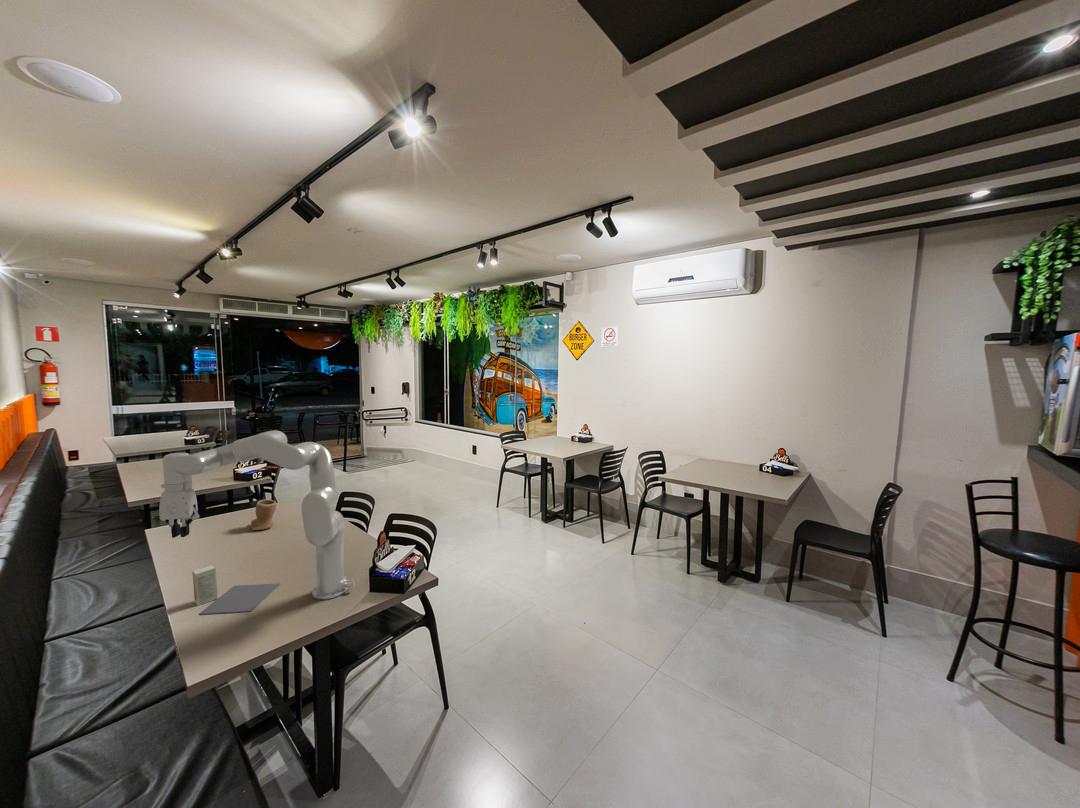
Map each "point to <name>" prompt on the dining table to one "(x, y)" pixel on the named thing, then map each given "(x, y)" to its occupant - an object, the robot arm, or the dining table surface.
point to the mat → (240, 599)
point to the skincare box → (205, 585)
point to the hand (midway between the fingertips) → (180, 535)
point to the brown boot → (264, 515)
